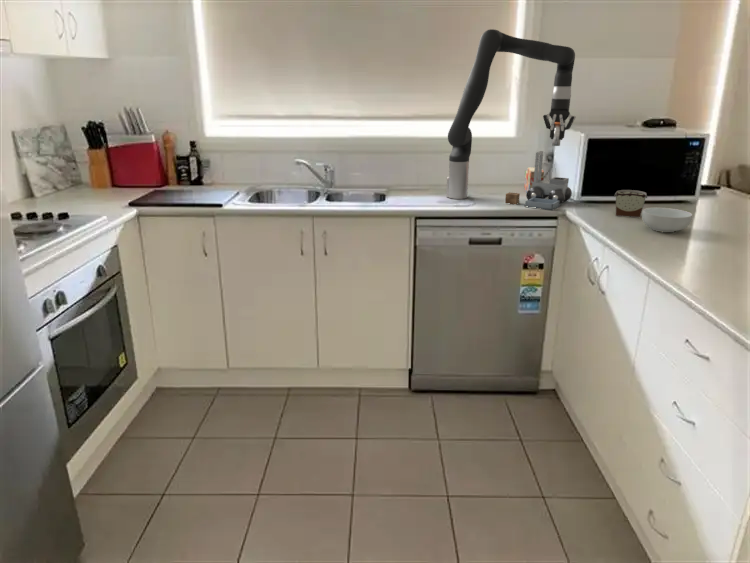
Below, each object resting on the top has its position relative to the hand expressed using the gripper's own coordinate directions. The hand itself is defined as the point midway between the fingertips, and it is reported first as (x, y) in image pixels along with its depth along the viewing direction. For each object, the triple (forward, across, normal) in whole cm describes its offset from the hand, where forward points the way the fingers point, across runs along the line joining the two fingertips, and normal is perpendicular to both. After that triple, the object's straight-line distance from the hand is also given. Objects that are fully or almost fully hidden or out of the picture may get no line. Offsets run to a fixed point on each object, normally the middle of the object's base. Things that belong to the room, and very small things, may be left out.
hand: (556, 139), depth 251 cm
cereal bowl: (+28, +50, -23) cm, 62 cm away
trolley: (+29, -2, +4) cm, 29 cm away
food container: (+28, +34, -5) cm, 44 cm away
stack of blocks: (+29, -16, +23) cm, 40 cm away
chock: (+29, -15, -7) cm, 33 cm away
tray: (+29, -1, -7) cm, 29 cm away
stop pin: (+3, 0, 0) cm, 3 cm away
